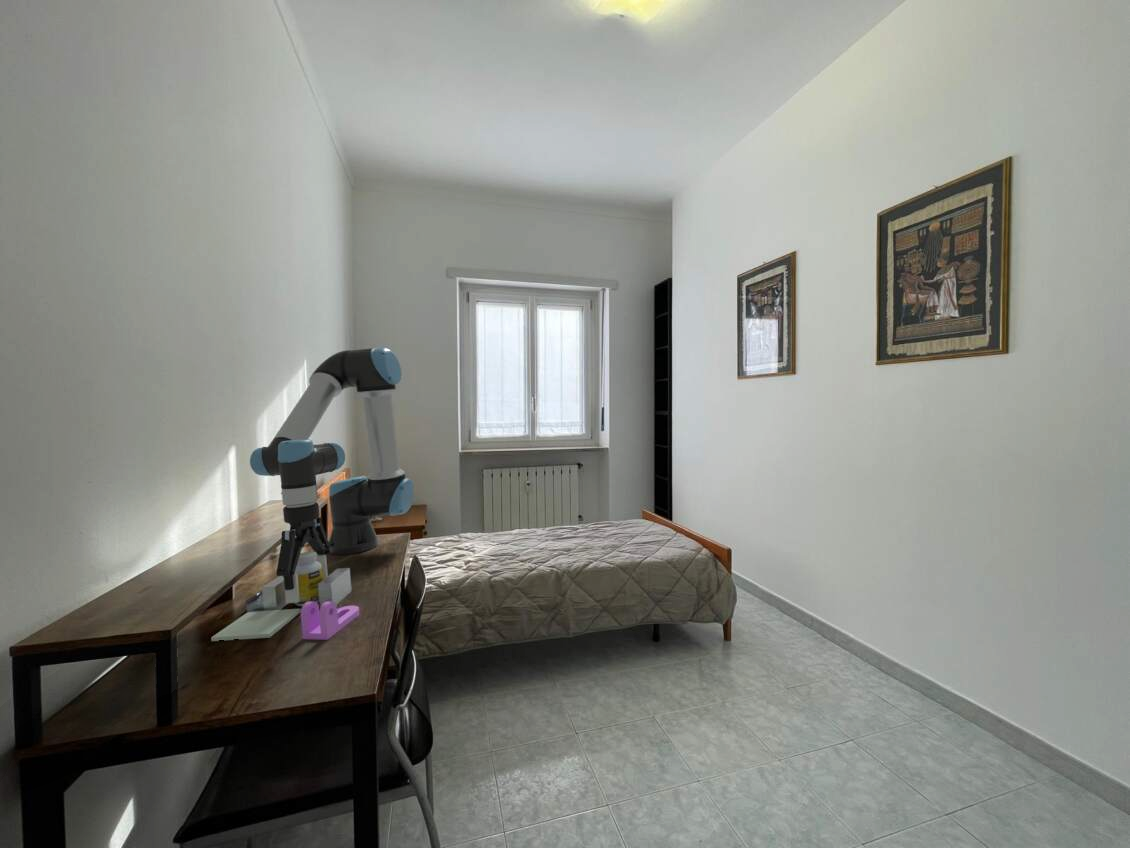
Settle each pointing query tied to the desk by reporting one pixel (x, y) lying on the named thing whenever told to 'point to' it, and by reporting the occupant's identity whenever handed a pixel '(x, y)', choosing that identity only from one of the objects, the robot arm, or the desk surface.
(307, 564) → the pill bottle
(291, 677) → the desk surface
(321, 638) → the bracket
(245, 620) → the mat
